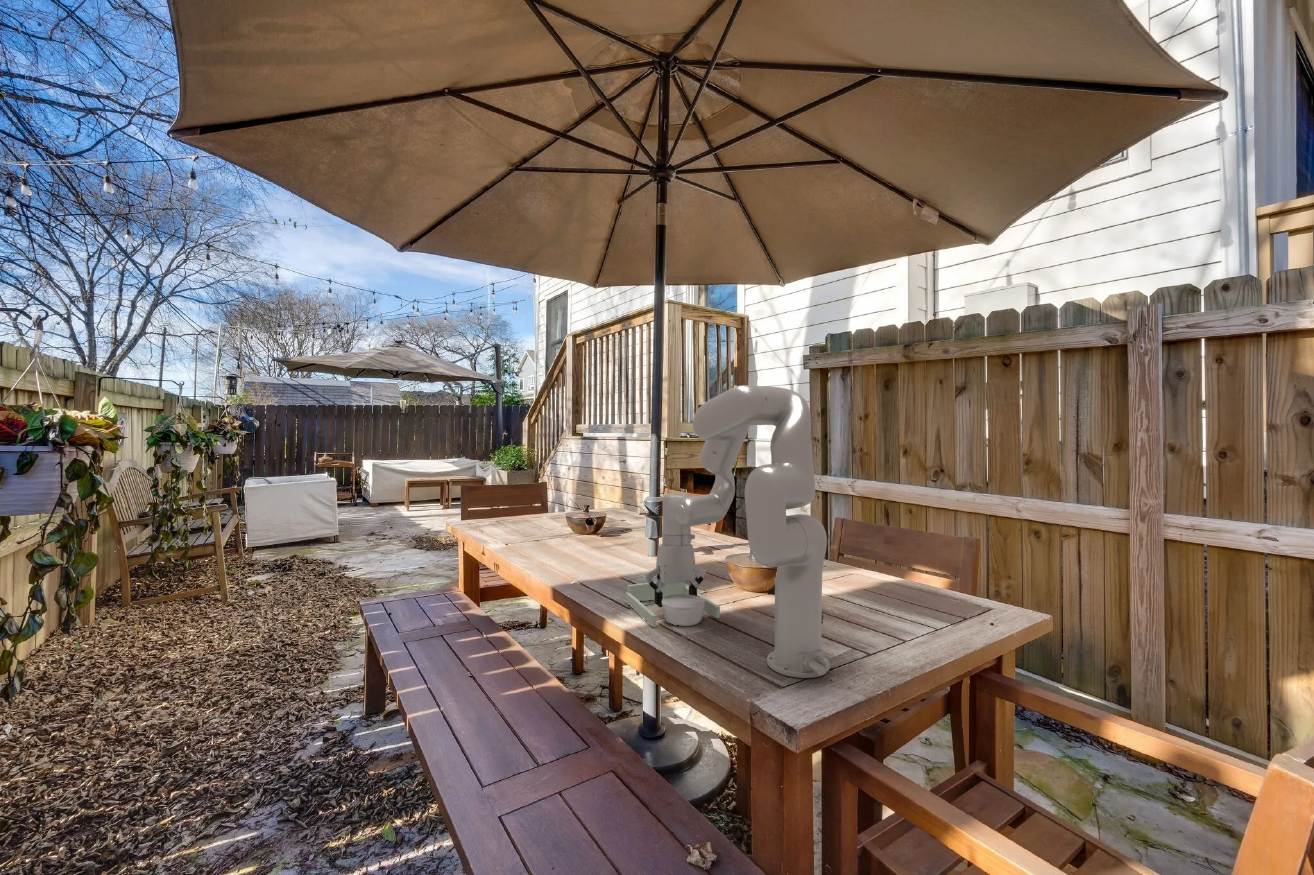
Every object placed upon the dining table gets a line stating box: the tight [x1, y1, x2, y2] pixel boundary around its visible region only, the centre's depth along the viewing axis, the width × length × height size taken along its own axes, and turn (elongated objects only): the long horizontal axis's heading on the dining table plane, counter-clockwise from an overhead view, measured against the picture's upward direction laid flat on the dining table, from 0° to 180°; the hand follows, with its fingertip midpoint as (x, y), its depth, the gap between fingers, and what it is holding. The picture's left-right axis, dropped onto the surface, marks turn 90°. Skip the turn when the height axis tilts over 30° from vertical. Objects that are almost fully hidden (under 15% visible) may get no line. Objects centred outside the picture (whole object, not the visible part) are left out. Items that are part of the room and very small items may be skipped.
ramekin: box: [662, 594, 705, 627], centre depth 142 cm, size 11×11×5 cm
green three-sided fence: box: [625, 581, 721, 628], centre depth 150 cm, size 21×19×5 cm
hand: (675, 603), depth 146 cm, fingers open, 9 cm apart
